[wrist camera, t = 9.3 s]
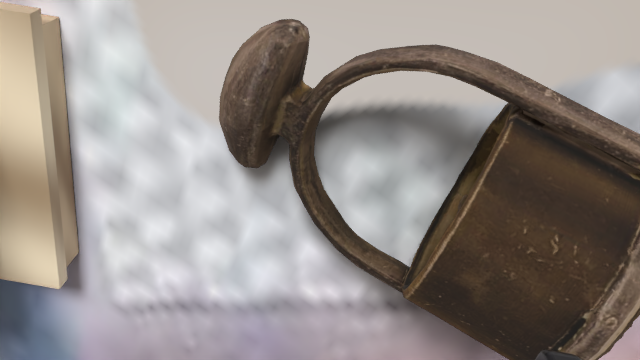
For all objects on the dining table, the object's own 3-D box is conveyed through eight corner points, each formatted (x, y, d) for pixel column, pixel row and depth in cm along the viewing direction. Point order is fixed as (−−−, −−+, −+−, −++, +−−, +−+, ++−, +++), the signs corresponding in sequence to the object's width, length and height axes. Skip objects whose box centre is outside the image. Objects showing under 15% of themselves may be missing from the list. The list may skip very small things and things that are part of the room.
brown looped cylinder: (462, 468, 19) (827, 372, 13) (100, 255, 14) (392, -42, 8) (462, 284, 24) (721, 155, 18) (196, 88, 20) (419, -170, 14)
